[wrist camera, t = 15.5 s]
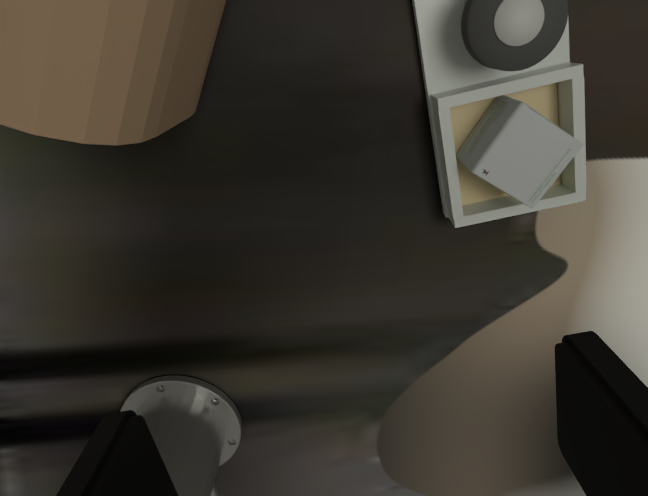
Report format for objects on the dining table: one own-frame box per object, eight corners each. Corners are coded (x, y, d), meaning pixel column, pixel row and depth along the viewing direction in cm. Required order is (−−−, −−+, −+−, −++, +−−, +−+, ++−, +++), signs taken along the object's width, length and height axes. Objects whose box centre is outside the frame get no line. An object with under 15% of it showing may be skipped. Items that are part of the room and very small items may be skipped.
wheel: (541, 55, 35) (571, 58, 30) (457, 76, 35) (475, 81, 31) (536, -39, 32) (568, -50, 28) (446, -15, 33) (464, -22, 29)
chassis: (568, 186, 40) (588, 199, 37) (443, 213, 41) (452, 228, 38) (559, -60, 33) (583, -71, 30) (409, -20, 34) (417, -26, 31)
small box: (510, 191, 39) (533, 211, 35) (452, 156, 38) (469, 172, 34) (557, 130, 37) (588, 143, 33) (498, 91, 36) (521, 99, 32)
